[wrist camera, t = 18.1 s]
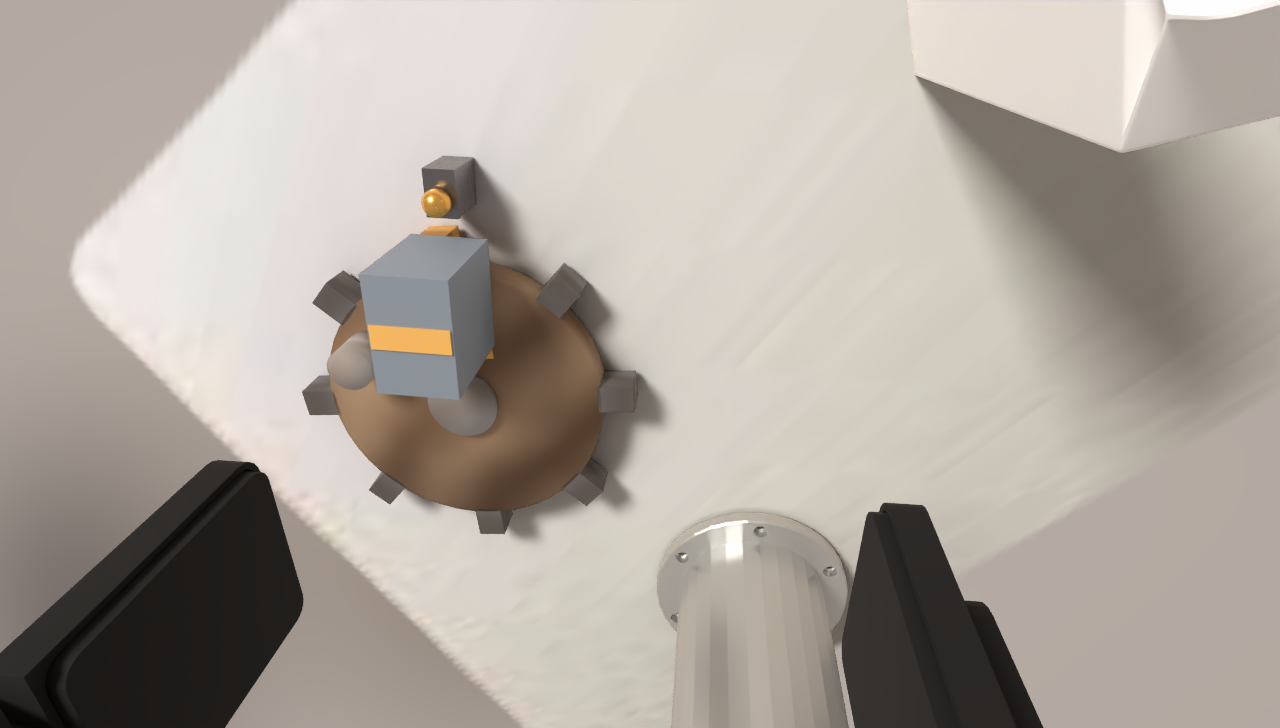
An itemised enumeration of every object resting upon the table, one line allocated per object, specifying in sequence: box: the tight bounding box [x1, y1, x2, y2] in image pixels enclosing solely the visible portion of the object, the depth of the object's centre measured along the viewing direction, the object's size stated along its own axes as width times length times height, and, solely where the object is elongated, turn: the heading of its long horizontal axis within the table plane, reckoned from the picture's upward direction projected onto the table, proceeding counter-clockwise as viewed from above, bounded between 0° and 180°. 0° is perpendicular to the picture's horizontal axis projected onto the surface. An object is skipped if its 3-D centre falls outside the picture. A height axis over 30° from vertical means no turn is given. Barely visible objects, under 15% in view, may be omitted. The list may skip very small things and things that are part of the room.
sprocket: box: [302, 226, 638, 534], centre depth 40 cm, size 20×20×4 cm
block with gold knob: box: [421, 156, 477, 219], centre depth 35 cm, size 2×2×4 cm
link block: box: [359, 234, 495, 400], centre depth 35 cm, size 6×4×6 cm, turn 177°
